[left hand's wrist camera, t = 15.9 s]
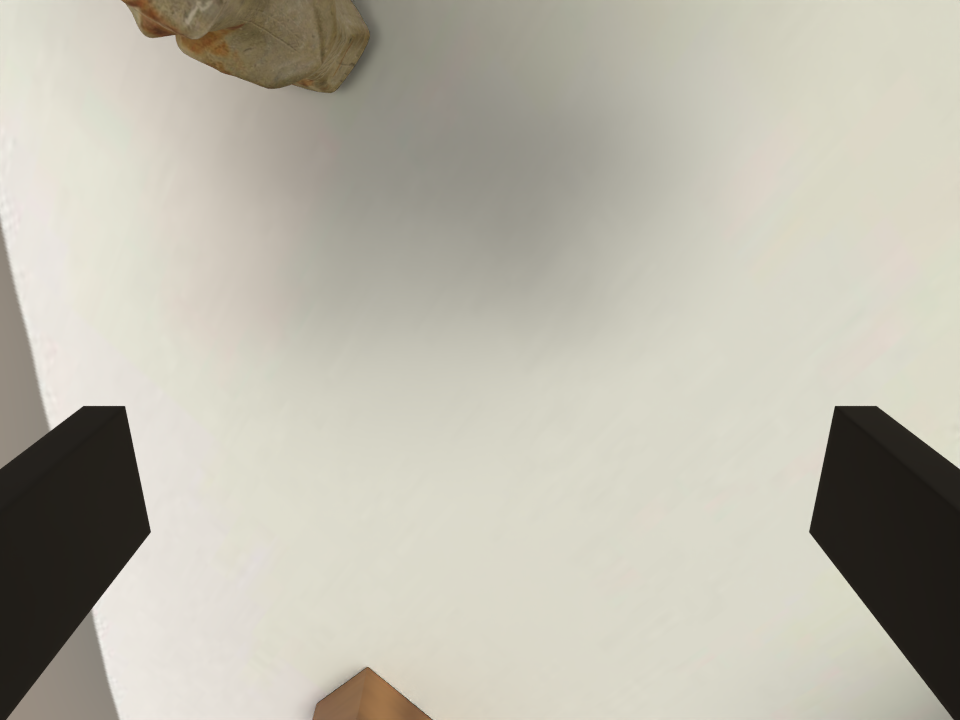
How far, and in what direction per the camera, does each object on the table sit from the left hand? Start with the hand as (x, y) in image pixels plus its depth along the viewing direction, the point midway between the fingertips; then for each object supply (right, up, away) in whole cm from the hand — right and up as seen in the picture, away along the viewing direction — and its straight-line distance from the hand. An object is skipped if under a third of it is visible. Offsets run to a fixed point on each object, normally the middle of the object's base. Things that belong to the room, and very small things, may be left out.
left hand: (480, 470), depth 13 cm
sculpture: (-9, +18, +20) cm, 28 cm away
